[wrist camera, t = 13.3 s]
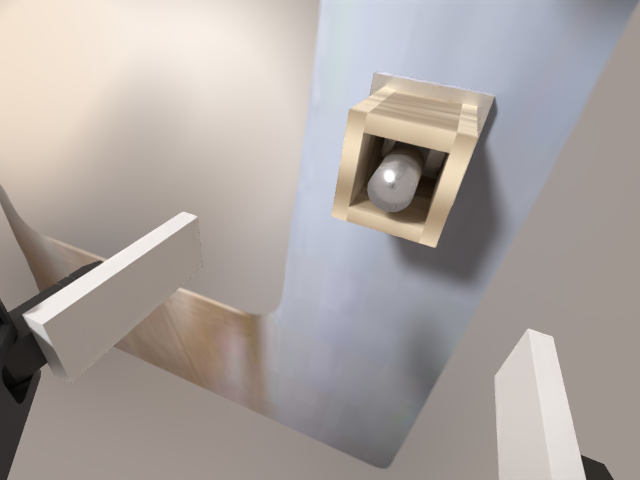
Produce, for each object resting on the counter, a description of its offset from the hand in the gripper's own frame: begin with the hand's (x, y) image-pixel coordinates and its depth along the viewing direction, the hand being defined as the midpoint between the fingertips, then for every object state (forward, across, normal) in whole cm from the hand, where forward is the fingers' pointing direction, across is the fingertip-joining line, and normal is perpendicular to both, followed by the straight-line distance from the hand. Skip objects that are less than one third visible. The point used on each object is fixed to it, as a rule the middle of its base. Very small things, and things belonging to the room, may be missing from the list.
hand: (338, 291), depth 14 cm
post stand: (+24, 0, 0) cm, 24 cm away
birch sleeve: (+22, 0, 0) cm, 22 cm away
